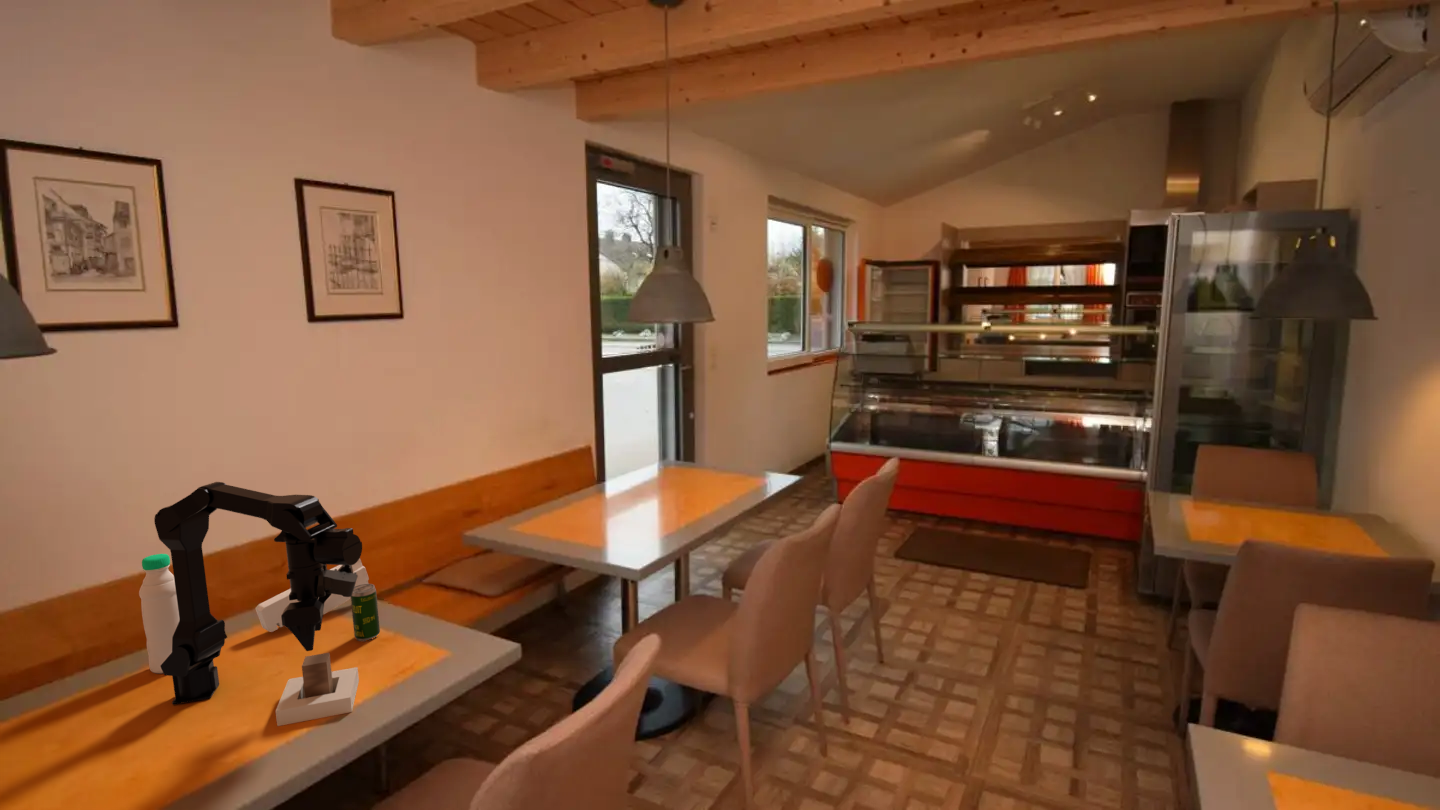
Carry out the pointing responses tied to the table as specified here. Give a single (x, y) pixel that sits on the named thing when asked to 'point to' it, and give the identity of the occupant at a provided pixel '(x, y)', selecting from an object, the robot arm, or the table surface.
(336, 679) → the well block
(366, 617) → the beer can
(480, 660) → the table surface
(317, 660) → the walnut post
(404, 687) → the table surface
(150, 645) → the water bottle
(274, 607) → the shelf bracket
